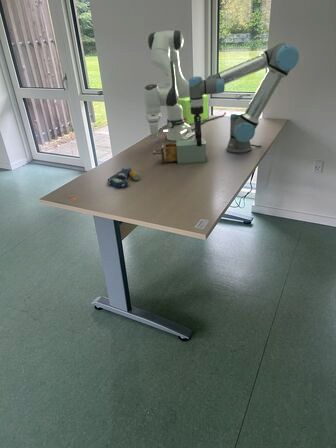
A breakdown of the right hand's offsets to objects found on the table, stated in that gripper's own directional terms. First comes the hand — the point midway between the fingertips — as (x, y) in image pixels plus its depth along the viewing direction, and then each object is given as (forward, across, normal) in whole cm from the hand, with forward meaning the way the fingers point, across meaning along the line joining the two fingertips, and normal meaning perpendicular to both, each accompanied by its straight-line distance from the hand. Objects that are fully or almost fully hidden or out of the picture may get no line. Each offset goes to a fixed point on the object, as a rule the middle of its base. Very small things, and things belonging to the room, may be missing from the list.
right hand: (198, 142), depth 202 cm
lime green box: (+10, -95, -1) cm, 96 cm away
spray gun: (+10, +26, -43) cm, 51 cm away
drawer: (+9, 0, -17) cm, 20 cm away
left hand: (-5, 0, -25) cm, 26 cm away
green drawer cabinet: (+10, 0, -5) cm, 12 cm away
